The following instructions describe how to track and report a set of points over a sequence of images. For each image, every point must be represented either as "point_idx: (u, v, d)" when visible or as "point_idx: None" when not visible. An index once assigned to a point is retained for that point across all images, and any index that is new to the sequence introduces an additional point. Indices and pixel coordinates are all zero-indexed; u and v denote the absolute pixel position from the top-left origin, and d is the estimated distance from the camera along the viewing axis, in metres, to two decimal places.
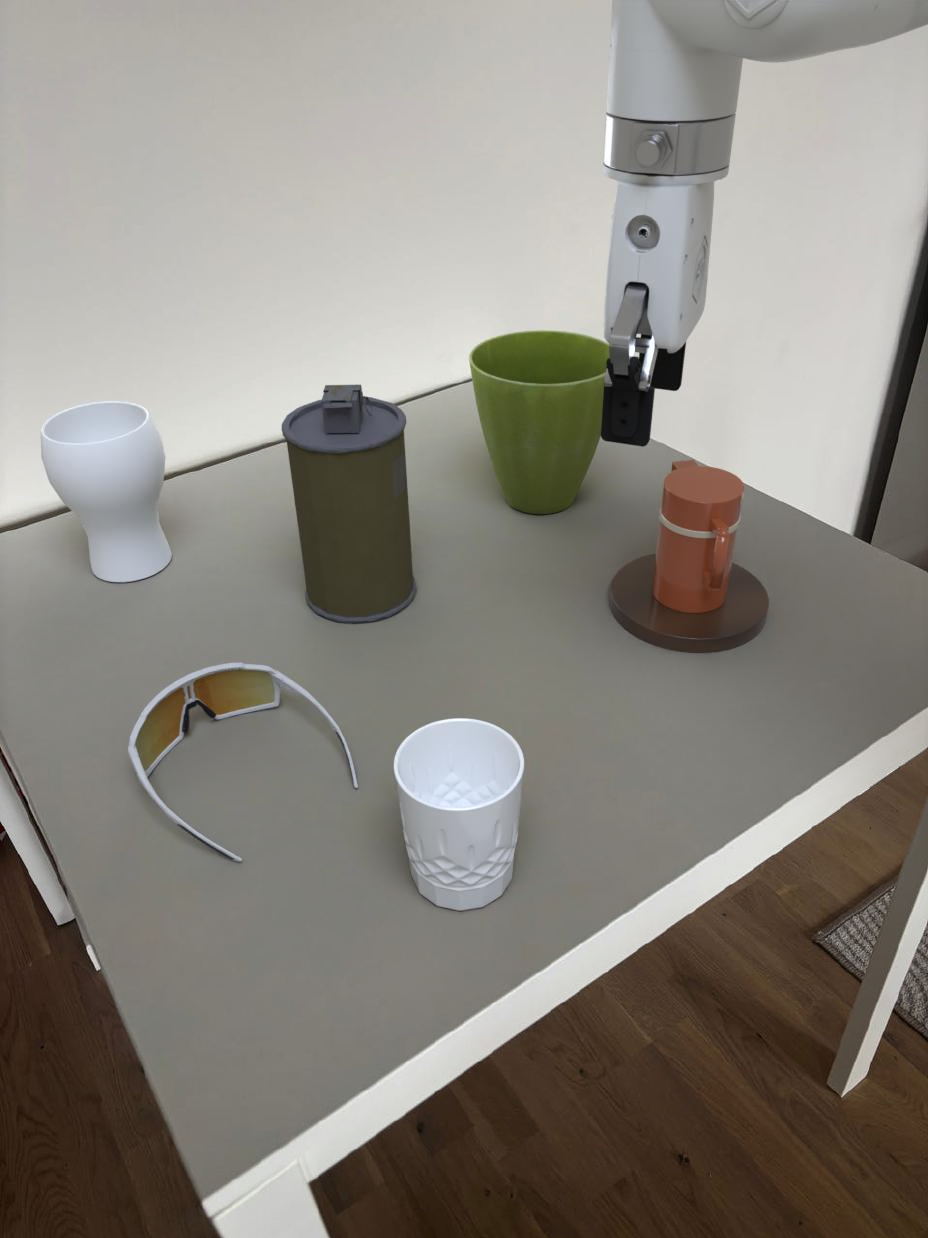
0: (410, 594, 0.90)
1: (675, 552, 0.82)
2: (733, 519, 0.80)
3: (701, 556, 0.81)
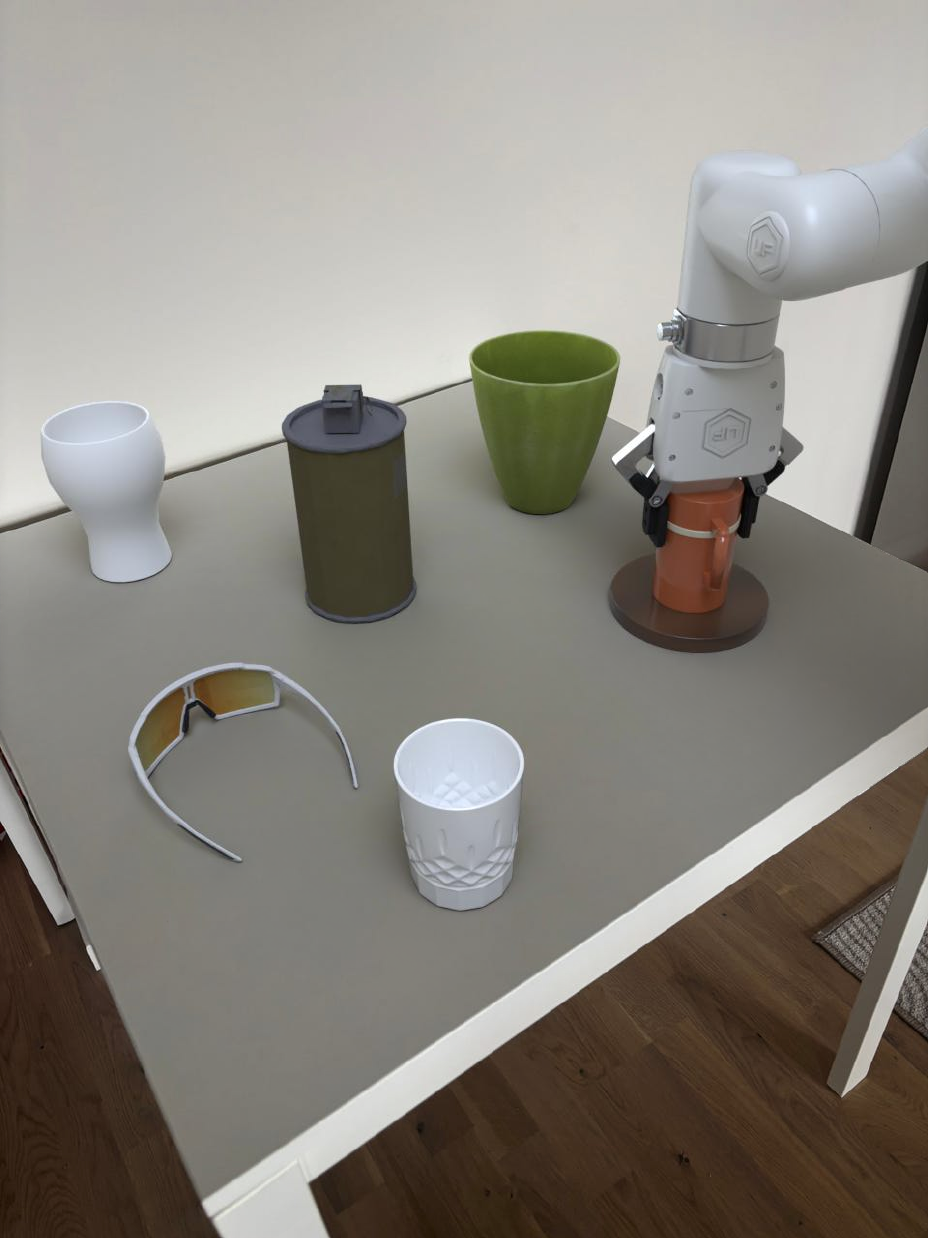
0: (410, 594, 0.90)
1: (675, 552, 0.82)
2: (733, 519, 0.80)
3: (701, 556, 0.81)
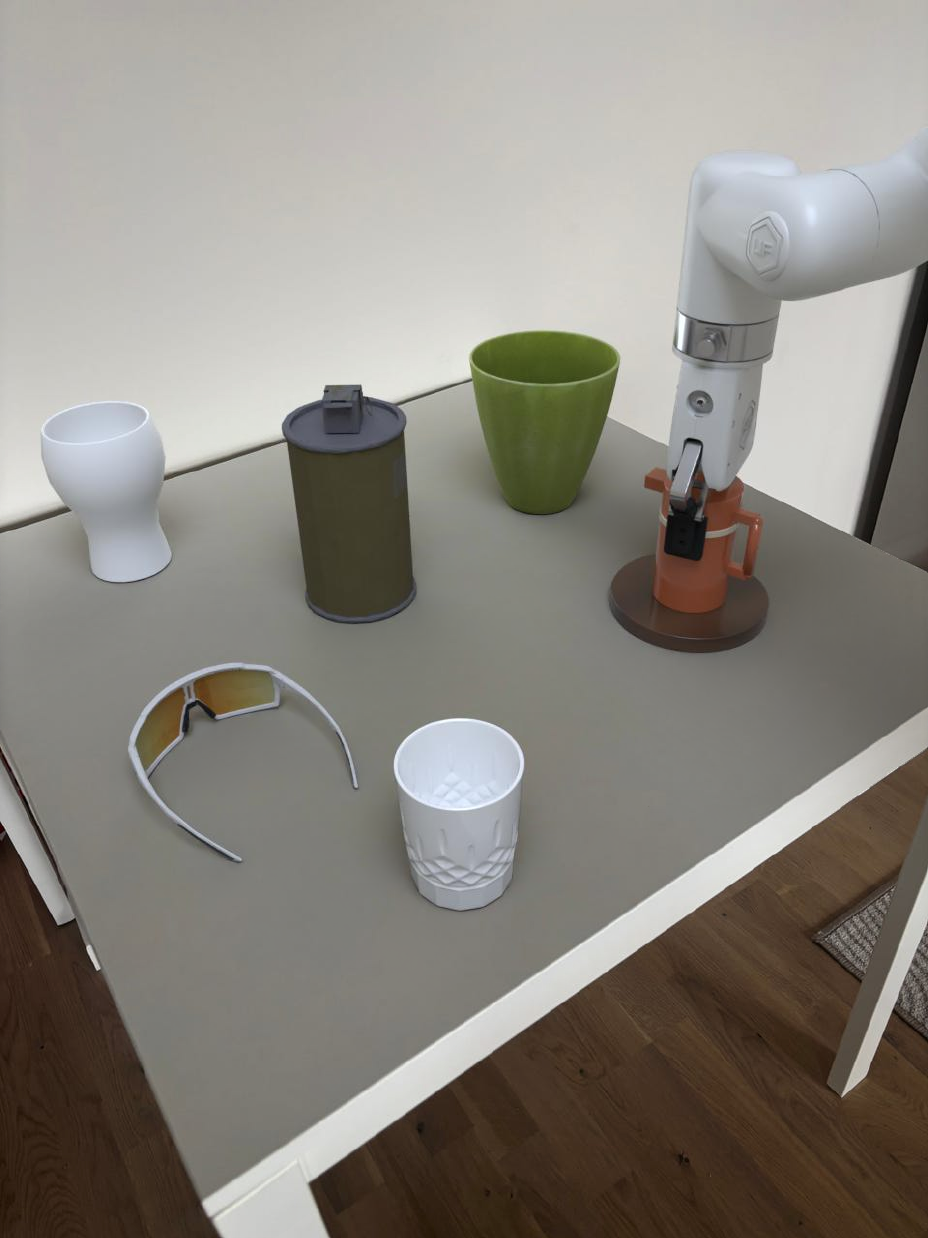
0: (410, 594, 0.90)
1: (704, 557, 0.81)
2: None
3: (727, 551, 0.82)
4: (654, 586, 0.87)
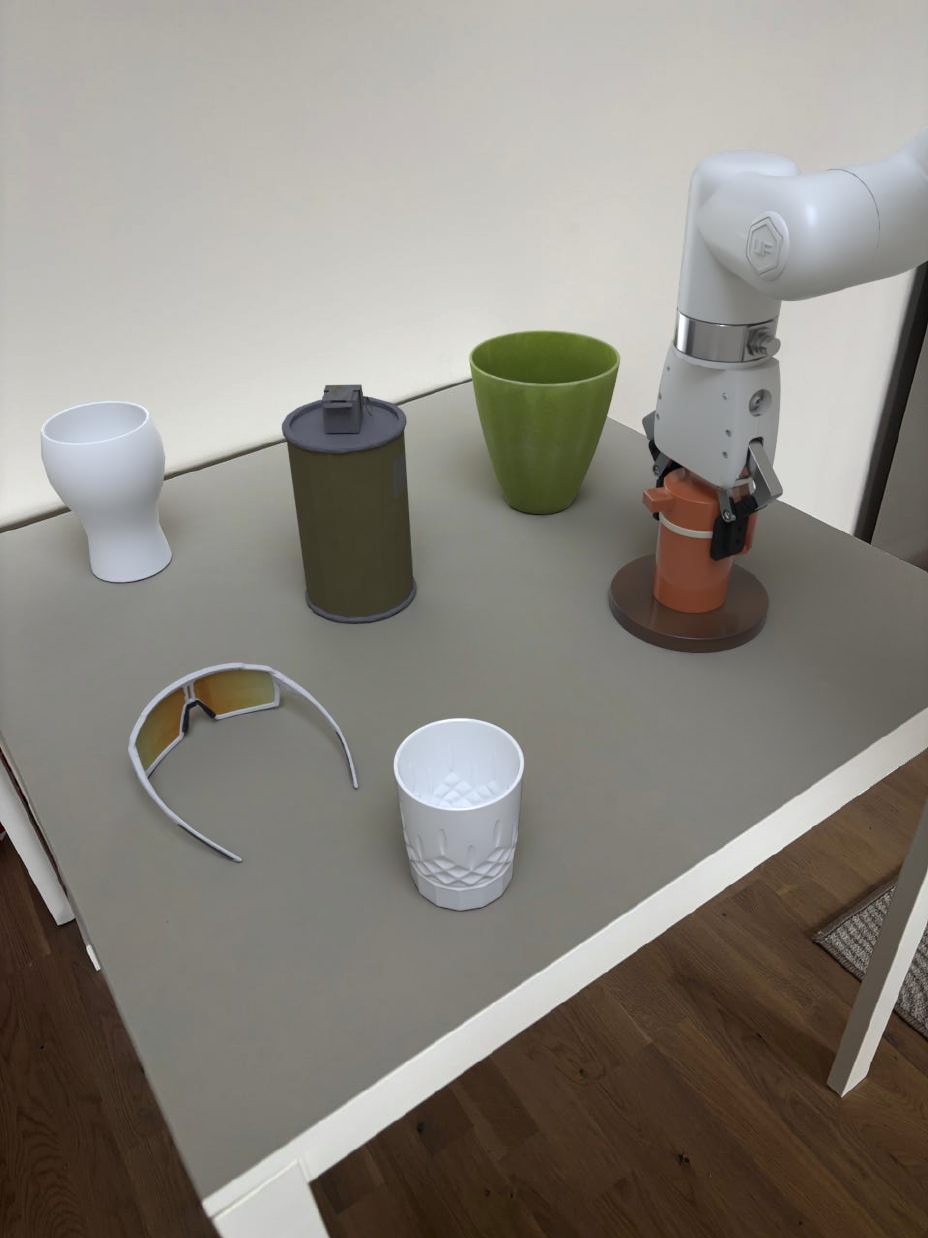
0: (410, 594, 0.90)
1: None
2: None
3: None
4: (677, 601, 0.85)
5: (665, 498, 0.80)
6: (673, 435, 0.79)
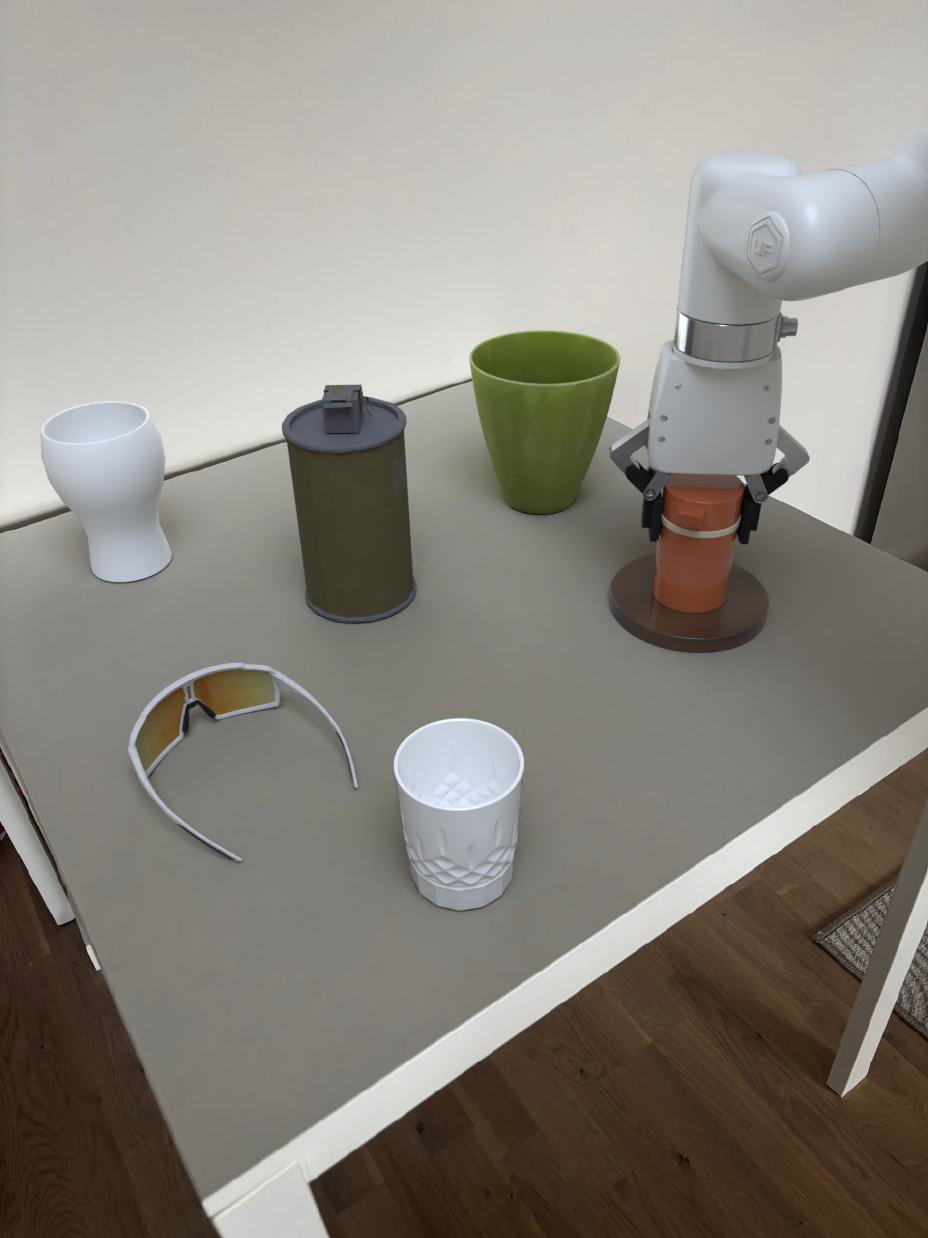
0: (410, 594, 0.90)
1: None
2: None
3: None
4: (710, 602, 0.84)
5: (703, 510, 0.78)
6: (691, 449, 0.77)
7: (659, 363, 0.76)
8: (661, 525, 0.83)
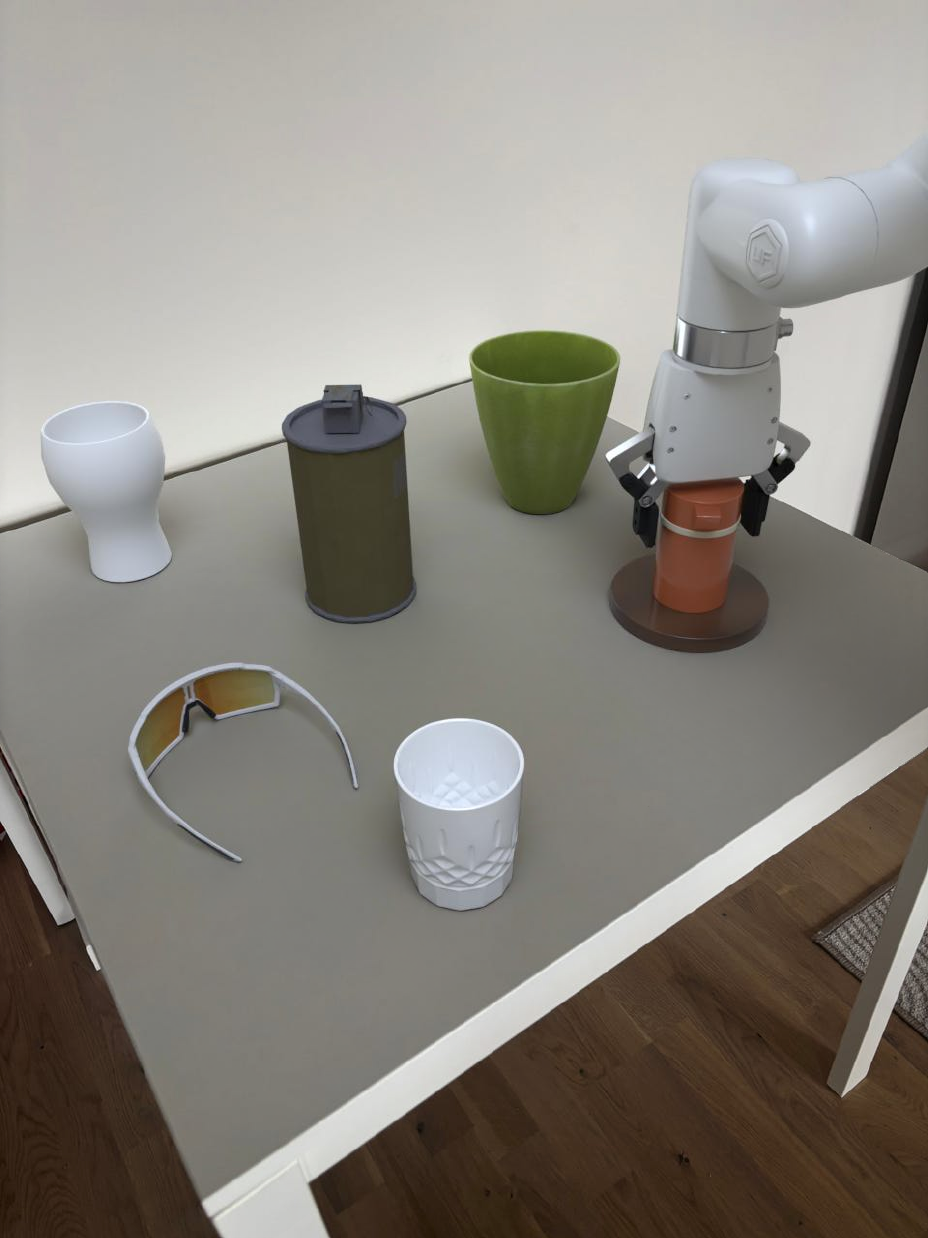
0: (410, 594, 0.90)
1: None
2: None
3: None
4: (719, 599, 0.85)
5: (718, 510, 0.78)
6: (698, 456, 0.77)
7: (661, 374, 0.75)
8: (666, 531, 0.82)
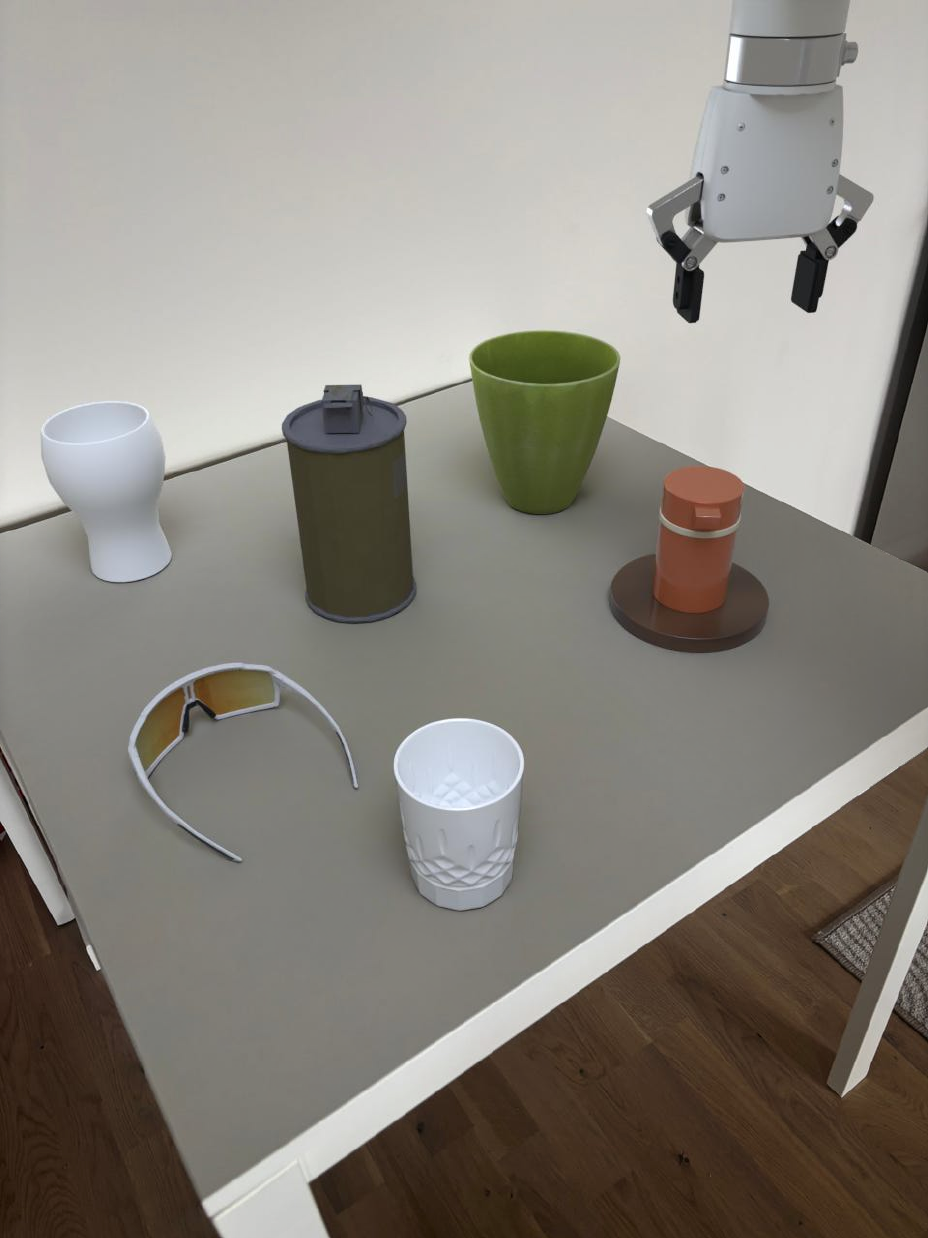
0: (410, 594, 0.90)
1: None
2: None
3: None
4: (719, 599, 0.85)
5: (718, 510, 0.78)
6: (752, 206, 0.70)
7: (711, 108, 0.68)
8: (666, 531, 0.82)
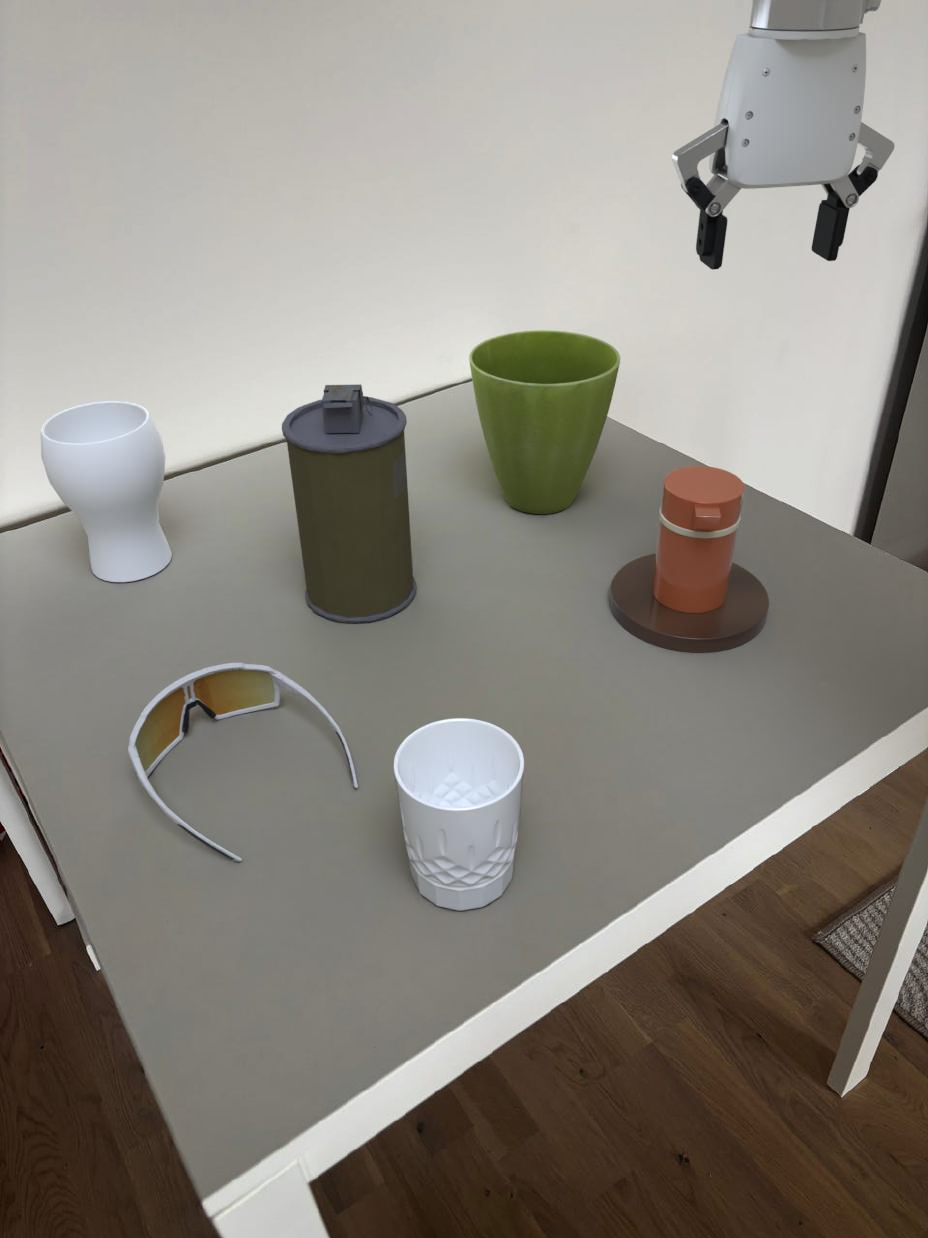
0: (410, 594, 0.90)
1: None
2: None
3: None
4: (719, 599, 0.85)
5: (718, 510, 0.78)
6: (775, 151, 0.71)
7: (737, 55, 0.69)
8: (666, 531, 0.82)
